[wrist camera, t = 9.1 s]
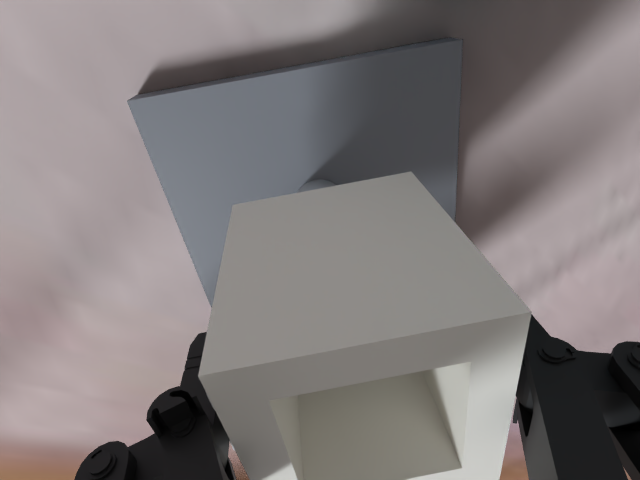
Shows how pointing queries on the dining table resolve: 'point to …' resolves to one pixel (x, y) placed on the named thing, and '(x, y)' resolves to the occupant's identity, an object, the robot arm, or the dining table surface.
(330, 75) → the base plate
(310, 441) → the sleeve
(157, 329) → the dining table surface
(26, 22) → the dining table surface
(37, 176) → the dining table surface
